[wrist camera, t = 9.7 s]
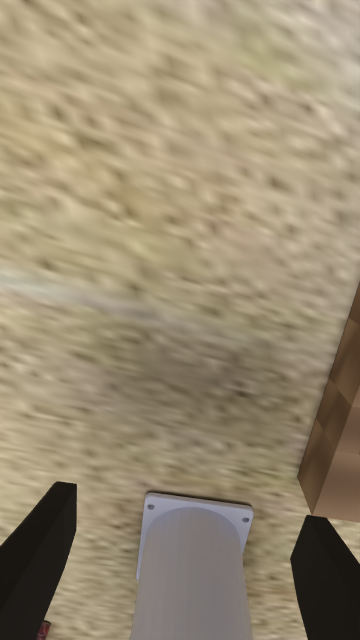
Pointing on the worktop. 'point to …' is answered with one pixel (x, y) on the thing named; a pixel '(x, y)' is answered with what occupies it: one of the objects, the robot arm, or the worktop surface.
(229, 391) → the worktop surface
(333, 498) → the brown wooden peg board
